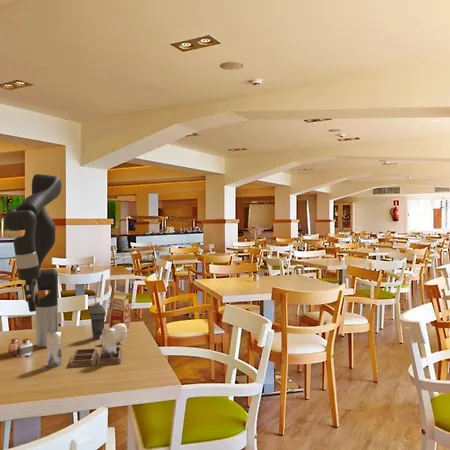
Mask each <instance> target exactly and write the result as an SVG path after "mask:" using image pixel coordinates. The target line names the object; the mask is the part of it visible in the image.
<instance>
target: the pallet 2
mask: <svg viewBox="0 0 450 450" xmlns="http://www.w3.org/2000/svg"><path fill="white" fill-rule="evenodd" d="M122 348H123V346H116V358H104V359H103V351H102V347H100V350H99V352H98V355H97V358H96V360H97V363H96V366H107V365H109V366H110V365H121V364H122V358H123V357H122V356H123V351H122V350H123V349H122Z"/></svg>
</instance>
